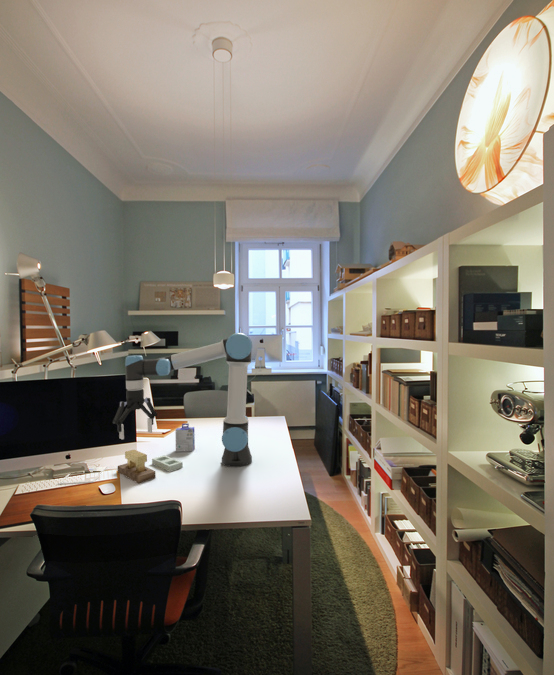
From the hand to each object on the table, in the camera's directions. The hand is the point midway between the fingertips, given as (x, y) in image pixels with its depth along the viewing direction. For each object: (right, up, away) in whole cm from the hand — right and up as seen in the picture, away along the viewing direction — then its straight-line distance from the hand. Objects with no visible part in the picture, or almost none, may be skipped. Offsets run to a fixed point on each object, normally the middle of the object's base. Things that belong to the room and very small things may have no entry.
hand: (136, 435), depth 169 cm
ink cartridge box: (+14, -18, +36) cm, 43 cm away
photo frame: (-24, -19, 0) cm, 31 cm away
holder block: (+11, -18, +12) cm, 24 cm away
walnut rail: (0, -18, 0) cm, 18 cm away
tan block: (0, -18, 0) cm, 18 cm away
